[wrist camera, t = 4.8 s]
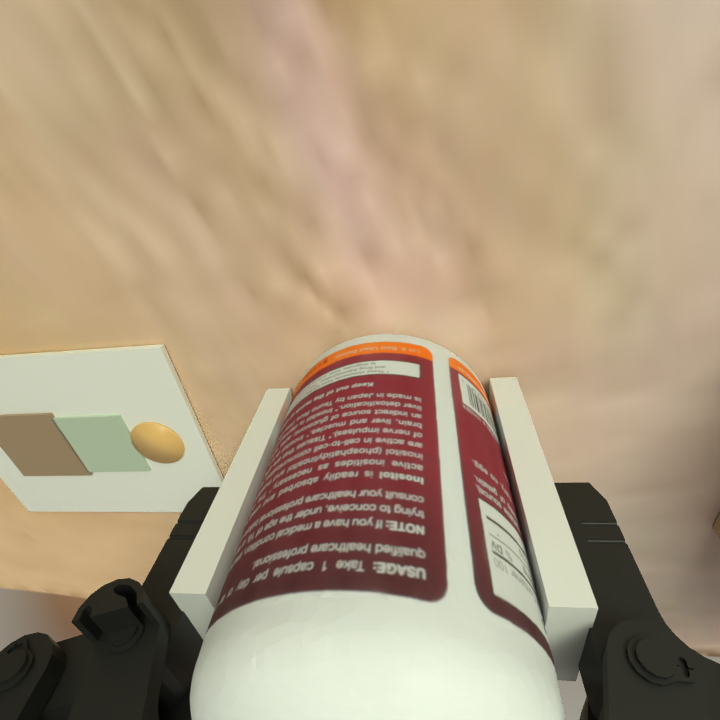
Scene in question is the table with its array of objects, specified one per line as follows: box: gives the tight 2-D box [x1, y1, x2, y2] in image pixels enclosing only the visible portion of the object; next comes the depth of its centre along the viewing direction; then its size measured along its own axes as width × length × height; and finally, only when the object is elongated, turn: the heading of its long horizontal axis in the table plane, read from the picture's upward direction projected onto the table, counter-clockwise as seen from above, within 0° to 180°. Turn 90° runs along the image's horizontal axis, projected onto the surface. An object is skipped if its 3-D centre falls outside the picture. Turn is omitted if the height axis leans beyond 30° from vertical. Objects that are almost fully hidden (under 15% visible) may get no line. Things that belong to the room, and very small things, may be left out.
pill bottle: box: [190, 334, 565, 720], centre depth 9 cm, size 6×6×11 cm
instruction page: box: [0, 344, 224, 512], centre depth 16 cm, size 10×8×1 cm
